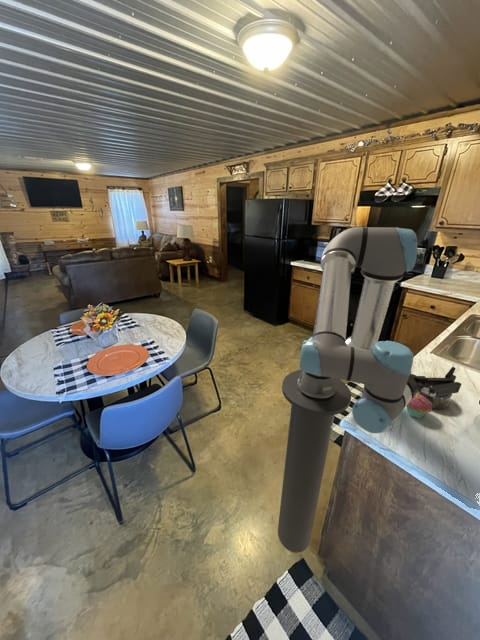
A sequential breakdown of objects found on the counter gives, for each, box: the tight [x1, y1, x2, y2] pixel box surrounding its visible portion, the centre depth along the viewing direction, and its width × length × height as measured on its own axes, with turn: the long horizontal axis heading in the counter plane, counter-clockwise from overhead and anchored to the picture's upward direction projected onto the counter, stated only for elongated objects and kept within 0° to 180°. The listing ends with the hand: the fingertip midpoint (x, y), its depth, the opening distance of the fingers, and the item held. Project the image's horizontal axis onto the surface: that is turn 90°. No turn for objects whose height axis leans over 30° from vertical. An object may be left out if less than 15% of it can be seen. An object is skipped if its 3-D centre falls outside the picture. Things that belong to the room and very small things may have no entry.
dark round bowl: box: [419, 392, 453, 410], centre depth 101 cm, size 13×13×5 cm
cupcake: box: [406, 392, 433, 419], centre depth 92 cm, size 9×8×12 cm
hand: (424, 361), depth 78 cm, fingers open, 13 cm apart
